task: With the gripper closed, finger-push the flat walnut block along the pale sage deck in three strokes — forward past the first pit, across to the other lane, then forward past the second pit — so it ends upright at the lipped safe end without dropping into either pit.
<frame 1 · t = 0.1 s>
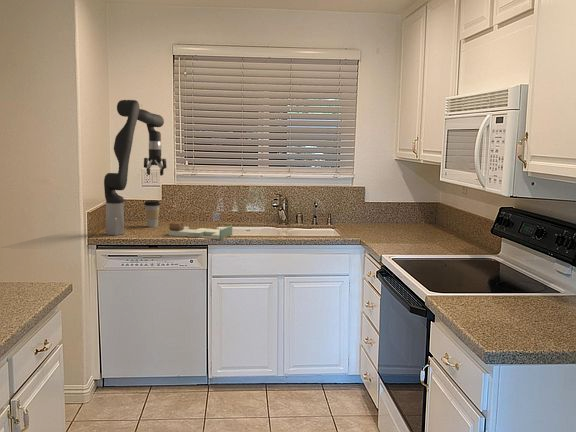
hand: (155, 175, 362), 29 cm above the table, fingers open, 8 cm apart
walnut block: (176, 229, 326), point 2 cm above the table, touching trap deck
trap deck: (199, 234, 327), on the table
coffee cup: (152, 226, 351), on the table
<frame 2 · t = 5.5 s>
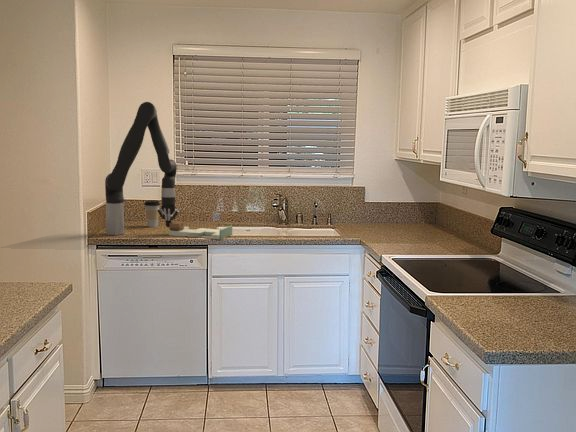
hand: (168, 226, 328), 4 cm above the table, fingers closed
walnut block: (176, 229, 326), point 2 cm above the table, touching gripper, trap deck
everything else where it was.
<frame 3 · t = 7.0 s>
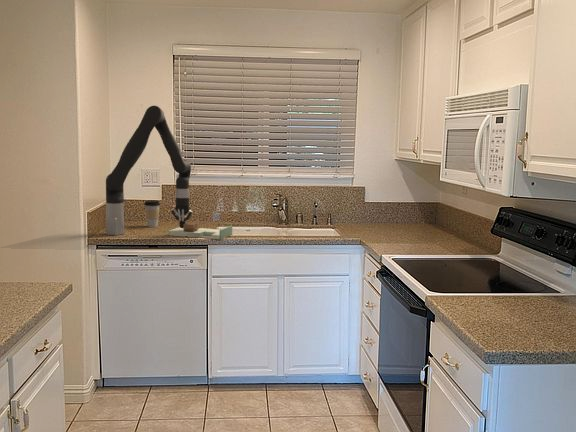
hand: (182, 227, 325), 4 cm above the table, fingers closed
walnut block: (190, 231, 324), point 3 cm above the table, touching gripper, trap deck
everything else where it was.
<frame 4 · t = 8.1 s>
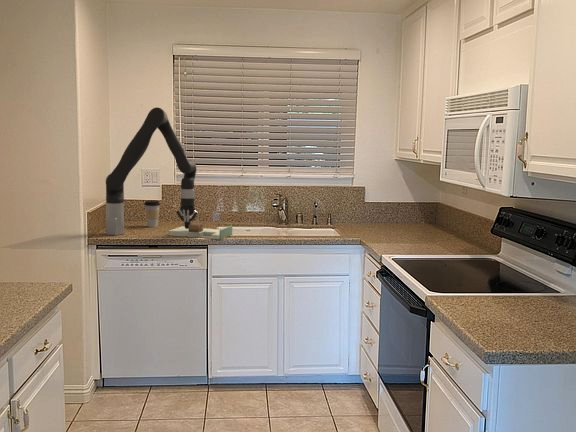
hand: (187, 228, 325), 4 cm above the table, fingers closed
walnut block: (195, 231, 323), point 2 cm above the table, touching gripper, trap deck
everything else where it was.
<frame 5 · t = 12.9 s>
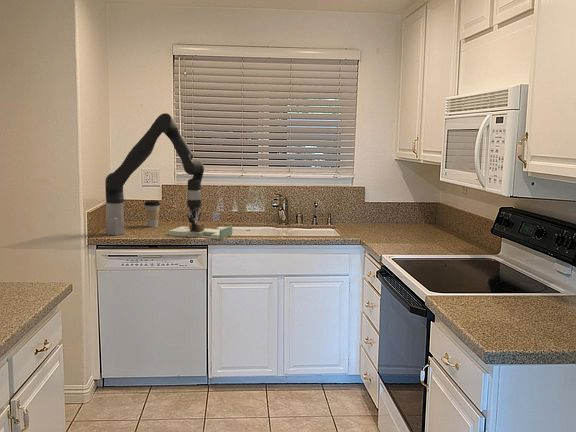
hand: (194, 230, 319), 4 cm above the table, fingers closed
walnut block: (197, 231, 325), point 3 cm above the table, touching gripper, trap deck
everything else where it was.
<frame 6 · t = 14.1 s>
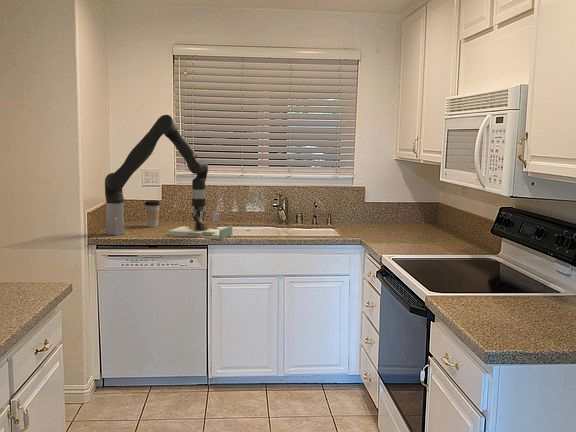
hand: (198, 228, 325), 4 cm above the table, fingers closed
walnut block: (201, 229, 330), point 2 cm above the table, touching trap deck
everything else where it was.
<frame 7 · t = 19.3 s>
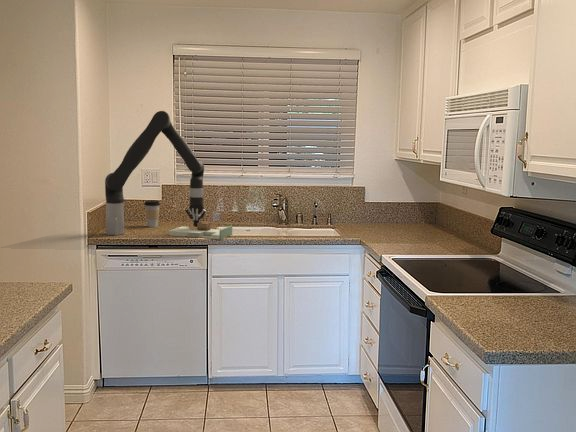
hand: (196, 226, 332), 4 cm above the table, fingers closed
walnut block: (204, 229, 330), point 2 cm above the table, touching gripper, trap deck
everything else where it was.
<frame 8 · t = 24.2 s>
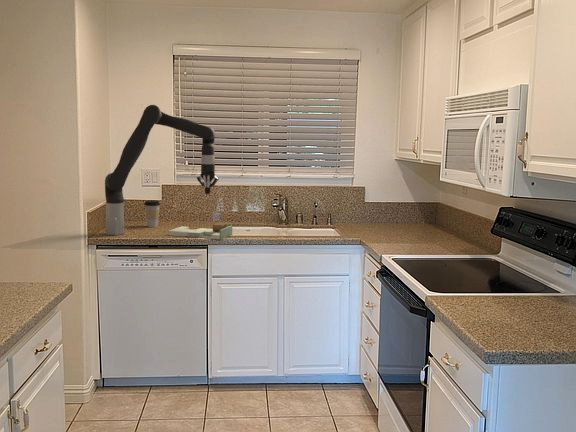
hand: (207, 194, 331), 22 cm above the table, fingers closed
walnut block: (219, 231, 328), point 2 cm above the table, touching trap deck
everything else where it was.
at the end: walnut block inside the target area on the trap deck (1.4 cm from its centre), point 2.2 cm above the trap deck's base; walnut block tilted 0° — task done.
